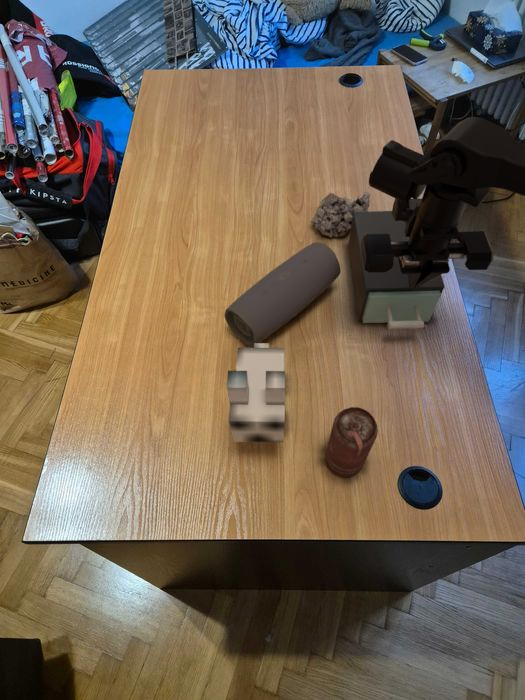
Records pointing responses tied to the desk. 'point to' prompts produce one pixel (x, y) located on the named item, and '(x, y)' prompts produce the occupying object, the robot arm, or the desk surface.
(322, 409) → the desk surface
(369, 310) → the mint green drawer
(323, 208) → the mineral specimen
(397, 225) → the drawer box
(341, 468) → the can
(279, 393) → the toy llama
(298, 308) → the bluetooth speaker
